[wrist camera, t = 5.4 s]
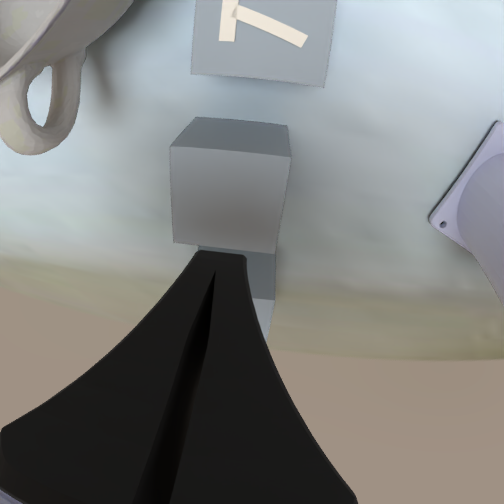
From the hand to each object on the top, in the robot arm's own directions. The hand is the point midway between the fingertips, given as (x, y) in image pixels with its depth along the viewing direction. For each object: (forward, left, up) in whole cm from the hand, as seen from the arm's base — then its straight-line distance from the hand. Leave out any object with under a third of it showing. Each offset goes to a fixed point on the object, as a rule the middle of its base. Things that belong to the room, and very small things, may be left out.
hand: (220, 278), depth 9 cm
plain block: (0, 0, -9) cm, 9 cm away
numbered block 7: (+2, -7, -9) cm, 11 cm away
